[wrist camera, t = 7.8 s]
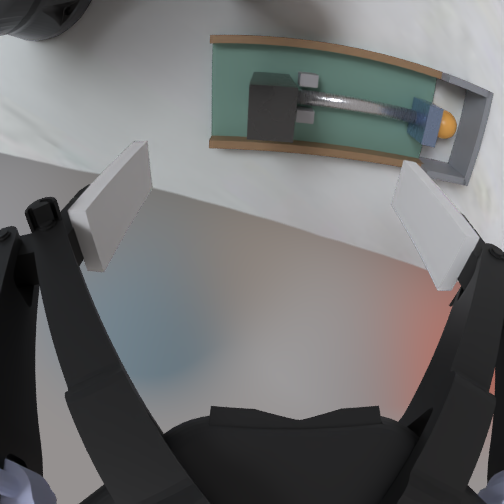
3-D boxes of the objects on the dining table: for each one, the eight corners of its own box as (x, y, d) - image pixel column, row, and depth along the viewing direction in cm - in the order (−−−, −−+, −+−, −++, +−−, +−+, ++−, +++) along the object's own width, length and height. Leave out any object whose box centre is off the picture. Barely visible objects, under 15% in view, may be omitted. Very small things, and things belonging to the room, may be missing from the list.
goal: (431, 68, 29) (450, 74, 25) (473, 84, 29) (493, 93, 25) (411, 161, 38) (425, 177, 34) (451, 170, 38) (467, 185, 34)
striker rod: (253, 71, 31) (249, 84, 23) (426, 100, 31) (473, 127, 22) (251, 111, 34) (246, 139, 26) (419, 134, 34) (461, 170, 26)
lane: (214, 35, 29) (209, 34, 27) (434, 69, 29) (447, 74, 27) (212, 140, 38) (208, 149, 36) (414, 162, 38) (424, 172, 35)
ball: (464, 117, 30) (442, 107, 33) (449, 114, 29) (426, 103, 32) (457, 144, 33) (437, 132, 35) (442, 142, 31) (420, 130, 34)
